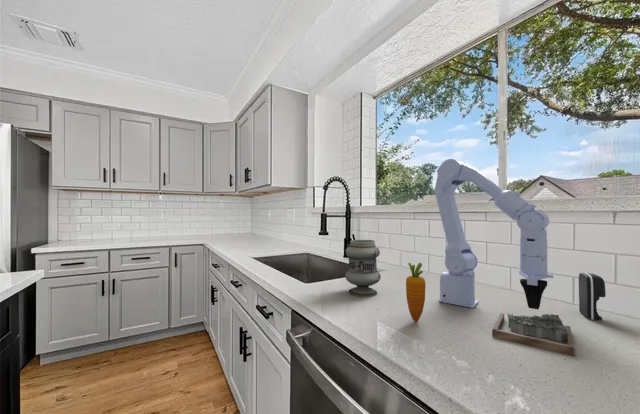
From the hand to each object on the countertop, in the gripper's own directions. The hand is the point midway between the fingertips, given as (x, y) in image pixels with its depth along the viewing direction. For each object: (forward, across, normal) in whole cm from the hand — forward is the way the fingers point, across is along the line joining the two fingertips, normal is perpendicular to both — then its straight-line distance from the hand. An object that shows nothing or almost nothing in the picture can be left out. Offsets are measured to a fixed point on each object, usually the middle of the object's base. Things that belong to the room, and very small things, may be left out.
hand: (533, 308), depth 74 cm
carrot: (+3, -22, +23) cm, 32 cm away
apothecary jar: (+3, -7, +47) cm, 48 cm away
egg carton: (+3, -10, -1) cm, 11 cm away
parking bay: (+3, -12, 0) cm, 12 cm away
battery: (+3, +12, -12) cm, 17 cm away
